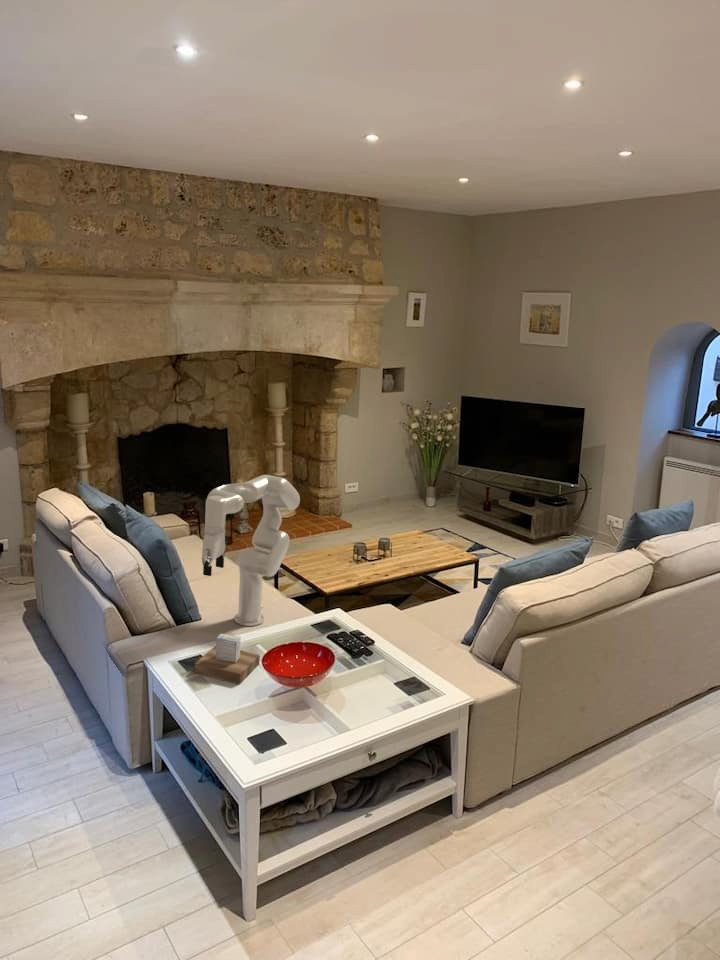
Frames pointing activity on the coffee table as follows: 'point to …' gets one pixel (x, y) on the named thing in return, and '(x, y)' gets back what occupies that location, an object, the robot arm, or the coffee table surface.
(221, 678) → the wooden block
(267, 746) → the coffee table surface
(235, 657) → the medicine box
